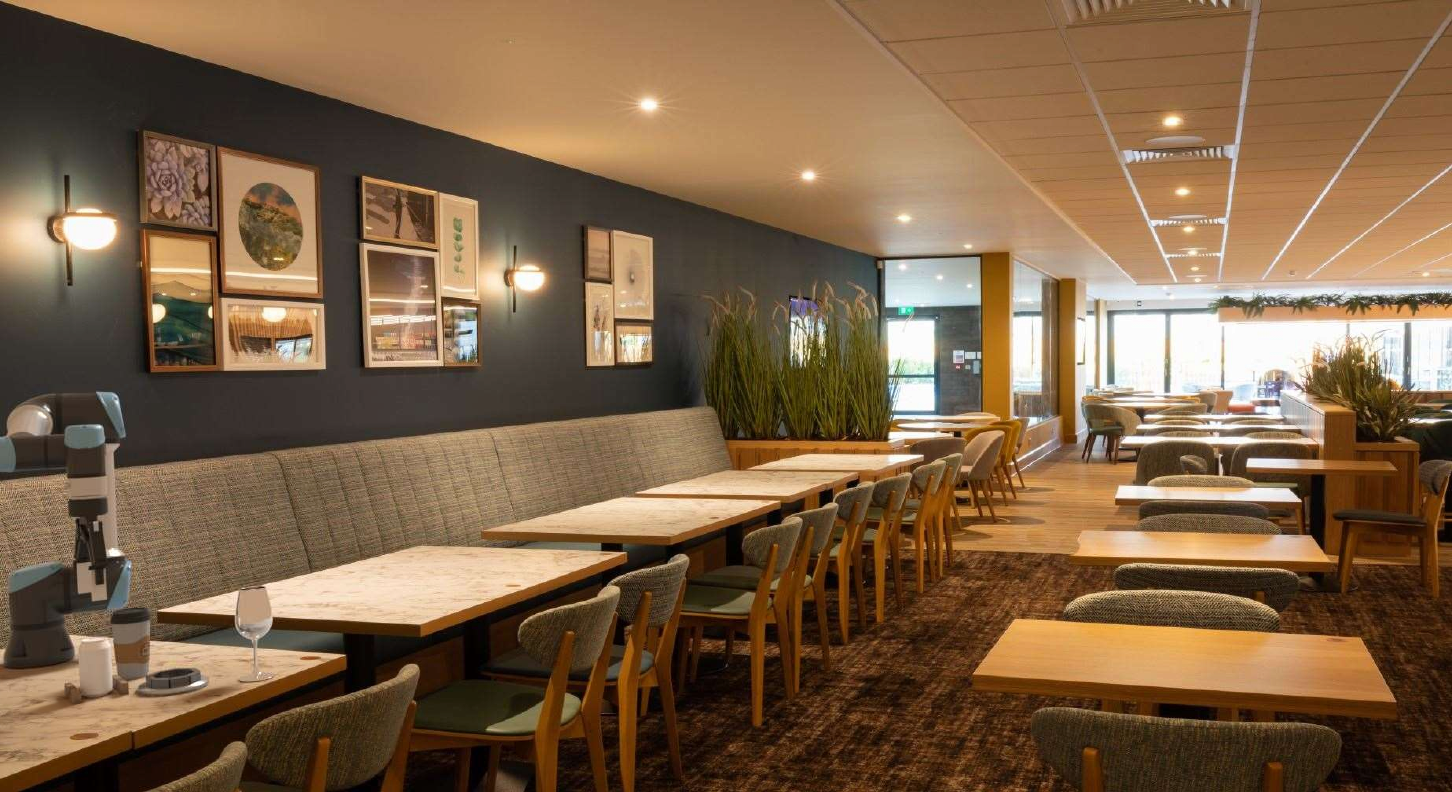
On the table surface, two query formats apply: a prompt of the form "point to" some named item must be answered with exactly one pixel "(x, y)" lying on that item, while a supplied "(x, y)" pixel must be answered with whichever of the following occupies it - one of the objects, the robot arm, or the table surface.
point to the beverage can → (95, 667)
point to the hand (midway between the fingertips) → (92, 596)
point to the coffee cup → (131, 642)
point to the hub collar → (173, 682)
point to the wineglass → (253, 623)
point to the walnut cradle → (75, 693)
